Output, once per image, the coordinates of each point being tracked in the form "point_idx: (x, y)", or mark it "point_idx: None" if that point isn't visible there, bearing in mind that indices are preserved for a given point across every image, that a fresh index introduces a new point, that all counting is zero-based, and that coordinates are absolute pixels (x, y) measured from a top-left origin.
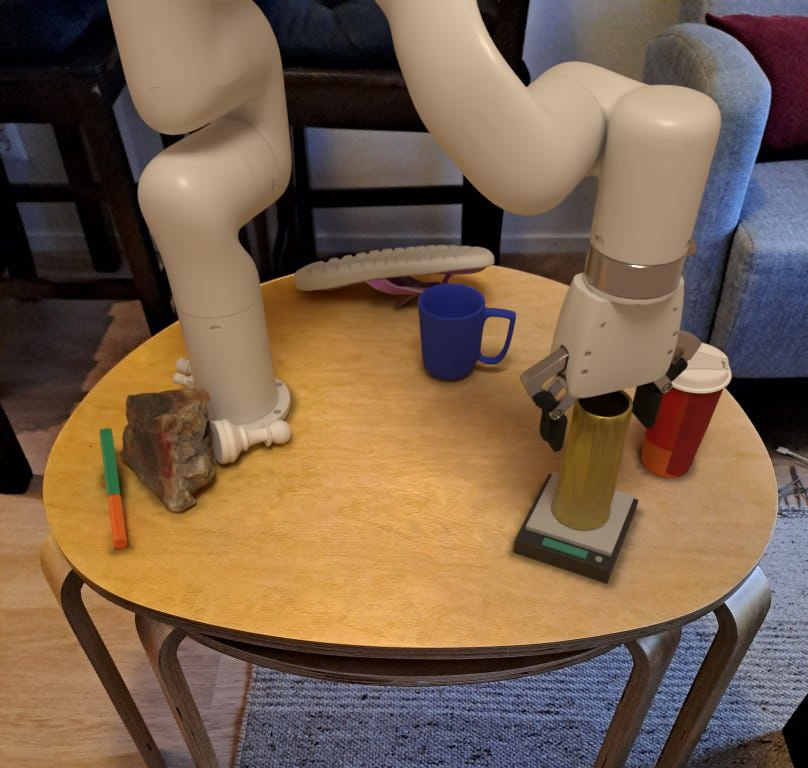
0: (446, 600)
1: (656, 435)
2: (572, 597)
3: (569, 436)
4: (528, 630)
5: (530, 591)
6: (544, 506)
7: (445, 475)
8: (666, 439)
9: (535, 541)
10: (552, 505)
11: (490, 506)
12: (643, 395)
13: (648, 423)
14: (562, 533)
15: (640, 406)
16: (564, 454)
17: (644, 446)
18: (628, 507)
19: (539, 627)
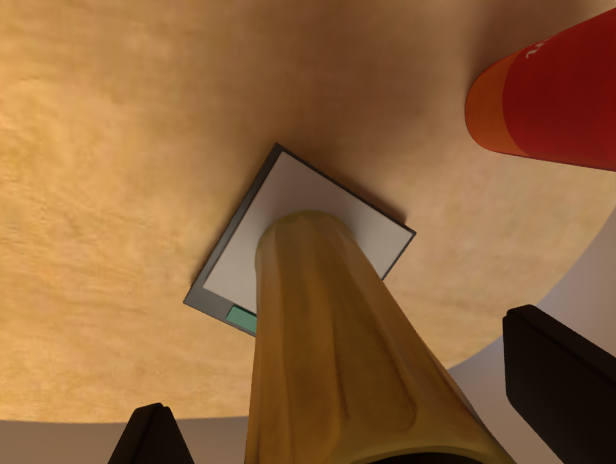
0: (79, 364)
1: (526, 129)
2: None
3: (251, 394)
4: (194, 410)
5: (206, 355)
6: (244, 246)
7: (69, 79)
8: (539, 148)
9: (217, 309)
10: (255, 257)
11: (161, 181)
12: (601, 442)
13: (525, 418)
14: None
15: (547, 390)
16: (259, 311)
17: (488, 98)
18: (391, 261)
19: (209, 407)
